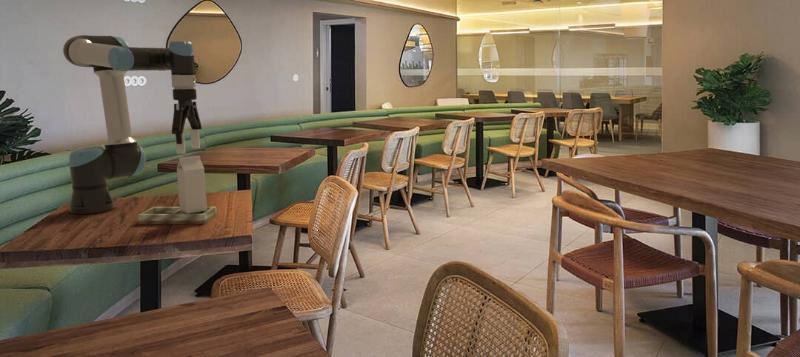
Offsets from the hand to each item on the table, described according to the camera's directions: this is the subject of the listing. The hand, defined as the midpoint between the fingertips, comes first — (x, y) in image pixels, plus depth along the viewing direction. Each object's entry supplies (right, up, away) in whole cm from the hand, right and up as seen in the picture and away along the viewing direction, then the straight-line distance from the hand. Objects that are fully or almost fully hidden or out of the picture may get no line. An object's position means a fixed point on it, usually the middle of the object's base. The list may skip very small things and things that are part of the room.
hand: (188, 150), depth 204 cm
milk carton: (0, -21, +4) cm, 21 cm away
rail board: (-5, -24, +4) cm, 25 cm away
